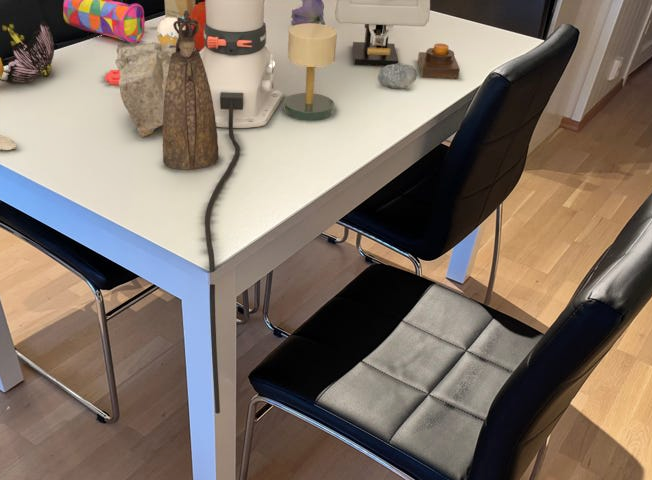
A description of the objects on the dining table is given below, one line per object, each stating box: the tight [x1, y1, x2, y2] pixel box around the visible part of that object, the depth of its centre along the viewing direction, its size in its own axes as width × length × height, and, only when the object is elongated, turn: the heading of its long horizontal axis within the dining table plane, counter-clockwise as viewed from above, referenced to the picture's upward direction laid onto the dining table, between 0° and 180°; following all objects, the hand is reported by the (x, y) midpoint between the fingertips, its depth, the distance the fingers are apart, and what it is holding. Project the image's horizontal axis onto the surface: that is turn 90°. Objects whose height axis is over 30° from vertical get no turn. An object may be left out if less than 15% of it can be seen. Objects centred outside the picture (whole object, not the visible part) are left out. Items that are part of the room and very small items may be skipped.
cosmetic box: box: [164, 0, 197, 27], centre depth 161 cm, size 6×4×12 cm
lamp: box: [283, 23, 338, 121], centre depth 132 cm, size 10×10×15 cm
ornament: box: [156, 16, 186, 46], centre depth 158 cm, size 7×7×8 cm
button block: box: [417, 47, 461, 80], centre depth 154 cm, size 10×8×4 cm
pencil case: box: [62, 0, 146, 44], centre depth 164 cm, size 22×9×9 cm
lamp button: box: [433, 42, 450, 55], centre depth 153 cm, size 3×3×2 cm
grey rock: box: [377, 62, 418, 89], centre depth 146 cm, size 8×4×5 cm, turn 89°
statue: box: [162, 11, 220, 170], centre depth 110 cm, size 9×8×25 cm
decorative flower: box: [0, 20, 55, 85], centre depth 141 cm, size 15×12×15 cm
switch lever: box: [367, 25, 390, 55], centre depth 154 cm, size 11×5×2 cm, turn 178°
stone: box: [114, 41, 176, 138], centre depth 126 cm, size 13×17×15 cm
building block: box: [105, 69, 120, 87], centre depth 146 cm, size 1×8×8 cm
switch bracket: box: [352, 24, 399, 67], centre depth 158 cm, size 12×10×9 cm
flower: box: [290, 0, 326, 26], centre depth 172 cm, size 9×9×10 cm
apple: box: [189, 1, 206, 52], centre depth 157 cm, size 11×11×11 cm
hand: (378, 45), depth 152 cm, fingers closed, pressing on switch lever
